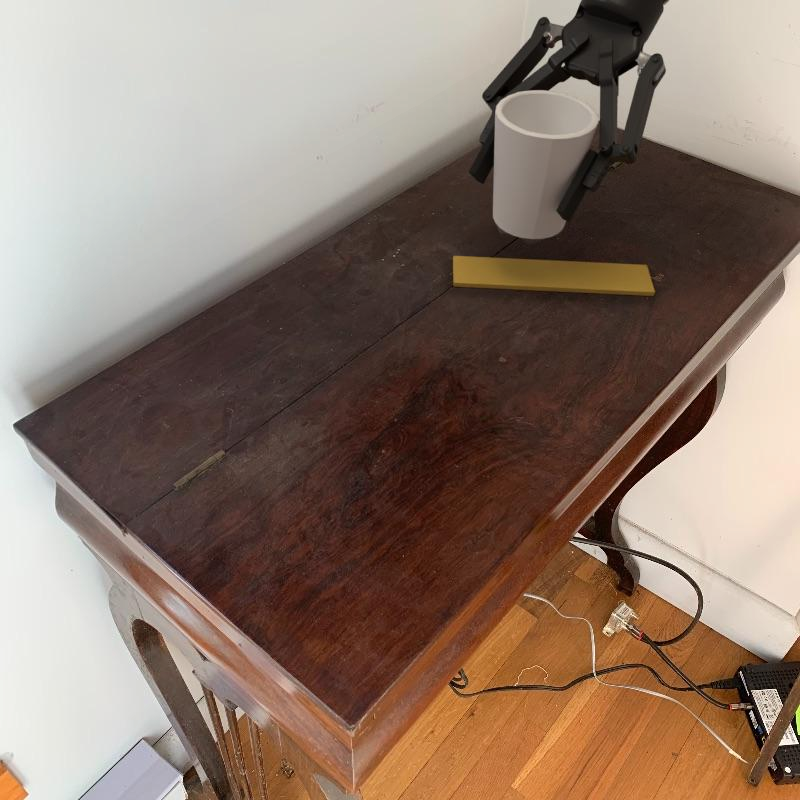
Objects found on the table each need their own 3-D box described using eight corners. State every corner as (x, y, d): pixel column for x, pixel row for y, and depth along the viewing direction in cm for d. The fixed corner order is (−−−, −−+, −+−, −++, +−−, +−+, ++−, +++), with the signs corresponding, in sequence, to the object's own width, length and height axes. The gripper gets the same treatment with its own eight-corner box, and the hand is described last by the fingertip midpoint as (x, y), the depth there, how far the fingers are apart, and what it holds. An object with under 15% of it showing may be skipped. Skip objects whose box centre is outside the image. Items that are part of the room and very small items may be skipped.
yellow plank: (645, 269, 91) (647, 264, 91) (653, 296, 88) (655, 292, 88) (452, 259, 91) (453, 255, 91) (453, 286, 88) (453, 282, 88)
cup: (567, 202, 89) (591, 91, 80) (580, 254, 82) (607, 139, 73) (478, 199, 89) (491, 87, 80) (484, 251, 82) (499, 135, 73)
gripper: (742, 42, 77) (623, 251, 79) (544, -18, 86) (444, 171, 89) (738, -3, 70) (608, 228, 72) (523, -62, 79) (416, 144, 82)
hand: (518, 196), depth 81 cm, fingers closed on cup, 10 cm apart
